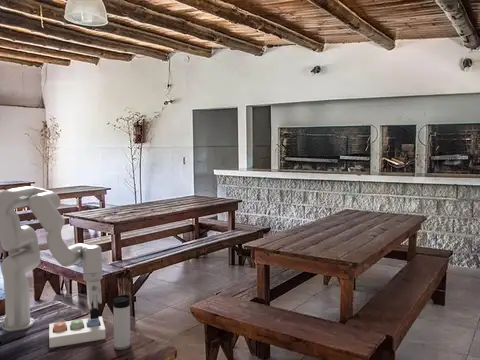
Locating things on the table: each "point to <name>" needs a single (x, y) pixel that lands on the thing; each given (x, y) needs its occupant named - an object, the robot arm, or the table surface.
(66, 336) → the button box
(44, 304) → the table surface
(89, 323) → the slate button
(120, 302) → the travel mug
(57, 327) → the terracotta button
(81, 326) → the sage button
